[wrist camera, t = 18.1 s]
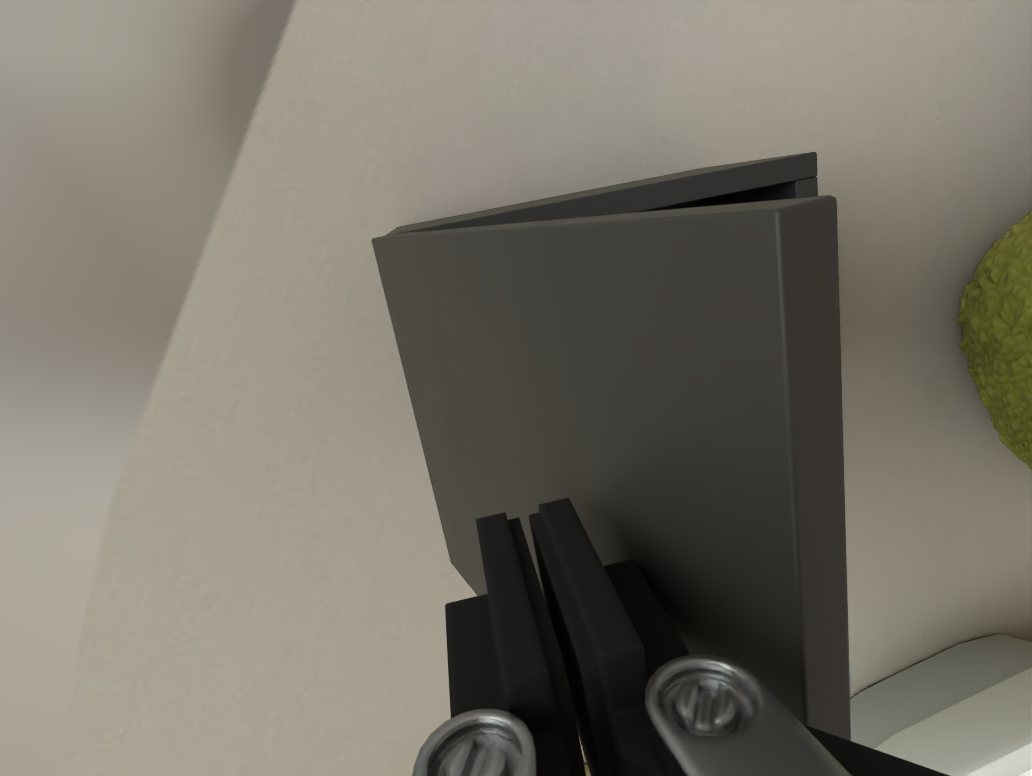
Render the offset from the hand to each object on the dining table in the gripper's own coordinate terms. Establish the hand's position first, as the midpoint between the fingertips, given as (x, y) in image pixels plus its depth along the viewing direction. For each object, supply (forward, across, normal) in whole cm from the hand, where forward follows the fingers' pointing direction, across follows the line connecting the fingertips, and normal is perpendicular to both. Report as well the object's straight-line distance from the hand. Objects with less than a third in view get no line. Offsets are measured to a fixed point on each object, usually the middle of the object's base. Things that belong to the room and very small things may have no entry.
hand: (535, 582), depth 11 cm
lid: (+4, -1, 0) cm, 4 cm away
